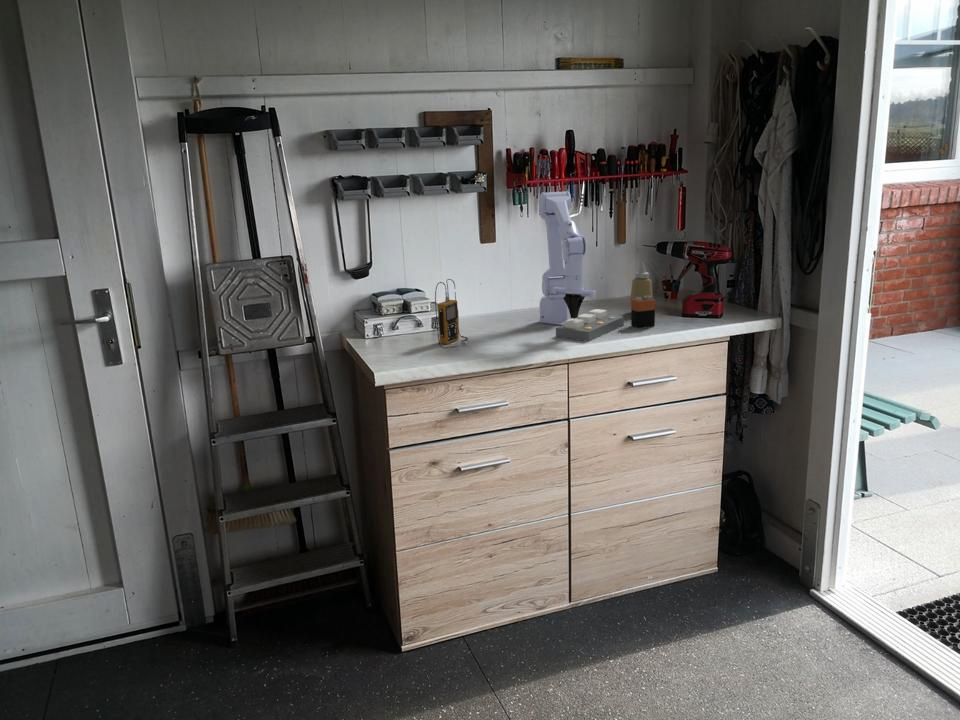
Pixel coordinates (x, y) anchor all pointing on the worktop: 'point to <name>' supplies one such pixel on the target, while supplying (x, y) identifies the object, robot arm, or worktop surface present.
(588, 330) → the button panel
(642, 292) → the squeeze bottle
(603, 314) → the button
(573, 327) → the button
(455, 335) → the multimeter
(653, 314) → the battery
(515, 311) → the worktop surface
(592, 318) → the button
